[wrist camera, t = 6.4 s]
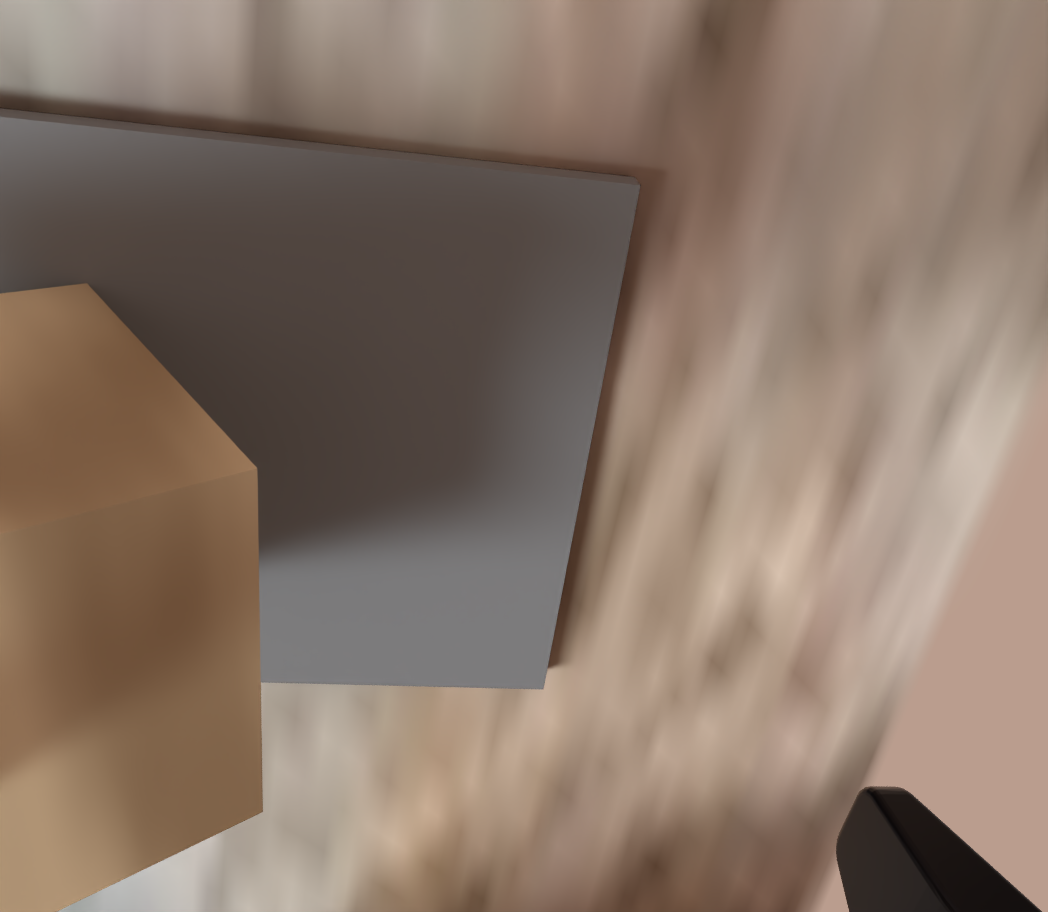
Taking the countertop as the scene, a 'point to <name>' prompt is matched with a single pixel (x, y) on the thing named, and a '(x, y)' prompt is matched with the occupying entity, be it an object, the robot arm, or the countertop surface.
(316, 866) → the countertop surface
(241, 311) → the mat
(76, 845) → the block
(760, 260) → the countertop surface
